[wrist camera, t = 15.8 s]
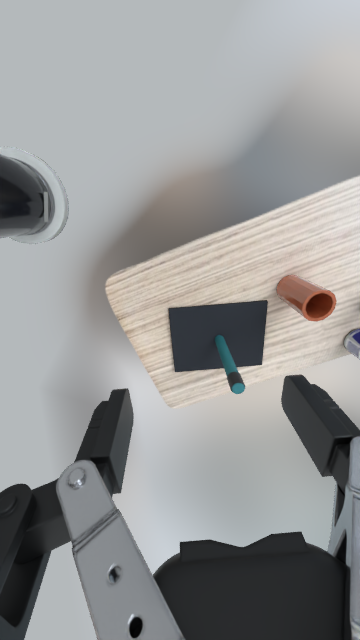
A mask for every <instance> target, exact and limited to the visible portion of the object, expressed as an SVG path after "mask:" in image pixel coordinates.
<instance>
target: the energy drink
mask: <svg viewBox="0 0 360 640" xmlns="http://www.w3.org/2000/svg"><path fill="white" fill-rule="evenodd" d="M344 346H345V348H346V349H347V350H348V351H349V352H351V353H352V354H353V355H354V356H356V357H357V358H358V359H360V329H356V330H354V331H352V332H350V333H349V334H348V335H347V336H346V338H345V341H344Z"/></svg>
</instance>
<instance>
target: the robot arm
mask: <svg viewBox="0 0 360 640" xmlns="http://www.w3.org/2000/svg"><path fill="white" fill-rule="evenodd" d="M54 213H55V201H54V196H53V193H52V191H51V188H50V186H49V184H48V183H47V181H46V180H45V178H44V177H43V176H42V175H41V174H40V173H39V172H38V171H37V170H36V169H35V168H34V167H32V166H31V165H29V164H27V163H25V162H23V161H21V160H18V159H15V158H11V157H7V156H4V155H1V154H0V238H5V237H13V236H21V235H34V234H38V233H40V232H42V231H44V230H45V229H46V228H48V226H49V225H50V224H51V222H52V220H53V217H54ZM281 400H282V407H283V410H284V412H285V414H286V415H287V417H288V419H289V420H290V422H291V424H292V426H293V427H294V429H295V431H296V432H297V434H298V436H299V437H300V439H301V441H302V443H303V445H304V446H305V448H306V449H307V451H308V453H309V455H310V456H311V458H312V460H313V461H314V463H315V465H316V467H317V469H318V470H319V472H320V474H321V475H322V477H325V476H333V477H334V479H335V480H336V485H335V495H334V505H333V506H334V507H333V518H332V530H331V536H330V541H329V545H328V551H324V550H323V549H321V548H319V547H317V546H314V545H311V544H309V543H306V542H305V539H304V537H303V535H302V532H291V533H279V534H271V535H269V536H267V537H265V538H263V539H260V540H258V541H257V542H254V543H252V544H250V545H248V546H246V547H237V546H233V545H229V544H225V543H221V542H217V541H213V540H200V541H188V542H180V553H178V554H176V555H174V556H173V557H171V558H170V559H168V560H167V561H166V562H164V563H163V564H162V565H161V566H160V567H159V568H158V570H157V571H156V572H155V573H154V574H153V575H152V573H151V572H150V569H149V568H148V566H147V564H146V562H145V560H144V558H143V556H142V554H141V552H140V550H139V548H138V546H137V544H136V542H135V540H134V538H133V536H132V534H131V532H130V530H129V528H128V526H127V524H126V522H125V520H124V518H123V516H122V514H121V512H120V511H119V509H117V508H116V506H115V504H114V502H113V500H112V495H113V494H116V493H121V489H122V483H123V477H124V472H125V465H126V460H127V455H128V448H129V443H130V438H131V432H132V426H133V408H132V404H131V400H130V394H129V390H128V389H117V390H113V391H112V392H111V395H110V398H109V401H102V402H101V403H100V404H99V405H98V406H97V408H96V409H95V410H94V413H93V415H92V418H91V421H90V423H89V426H88V429H87V431H86V434H85V436H84V439H83V442H82V444H81V447H80V449H79V452H78V454H77V457H76V460H75V461H74V463H73V464H71V465H70V466H68V468H66V469H65V470H64V471H63V473H62V474H61V476H60V477H59V478H58V479H57V480H55V481H53V482H50V483H48V484H45V485H43V486H40V487H38V488H36V489H33V490H31V489H30V488H29V486H28V485H26V484H16V485H13V486H10V487H9V488H7V489H5V490H4V491H2V492H1V493H0V640H24V638H25V635H26V631H27V628H28V625H29V622H30V618H31V615H32V612H33V609H34V605H35V602H36V599H37V596H38V592H39V589H40V586H41V583H42V579H43V576H44V572H45V569H46V566H47V563H48V560H49V557H50V554H51V550H53V549H55V548H57V547H59V546H61V545H63V544H65V543H68V542H70V541H71V542H72V545H73V548H72V552H73V557H74V560H75V564H76V567H77V571H78V574H79V577H80V581H81V584H82V588H83V591H84V594H85V598H86V601H87V605H88V608H89V612H90V615H91V618H92V622H93V625H94V629H95V632H96V635H97V639H98V640H360V430H359V429H358V428H357V427H356V425H355V424H354V423H353V422H352V421H351V420H350V419H349V417H348V416H347V415H346V414H345V413H344V412H343V411H342V410H341V409H340V408H339V406H338V405H337V404H336V403H335V402H334V401H333V399H332V398H331V397H330V396H329V395H328V394H327V392H326V391H324V390H323V389H321V388H320V387H318V386H317V385H315V384H310V383H309V382H308V381H307V379H306V378H305V377H304V376H303V375H290V376H286V377H285V379H284V385H283V392H282V398H281Z"/></svg>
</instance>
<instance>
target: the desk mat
mask: <svg viewBox="0 0 360 640" xmlns="http://www.w3.org/2000/svg"><path fill="white" fill-rule="evenodd" d="M267 303H268V301H267V300H266V301H253V302H241V303H229V304H217V305H204V306H192V307H180V308H169V319H170V328H171V338H172V348H173V357H174V367H175V372H182V371H194V370H206V369H219V368H224V366H223V363H222V360H221V357H220V354H219V351H218V348H217V346H216V343H215V337H216V336H217V335H222V336H223V337H224V339H225V342H226V344H227V347H228V349H229V351H230V354H231V356H232V358H233V361H234V363H235V365H236V367H243V366H256V365H262V358H263V347H264V336H265V325H266V314H267Z"/></svg>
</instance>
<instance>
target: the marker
mask: <svg viewBox="0 0 360 640" xmlns="http://www.w3.org/2000/svg"><path fill="white" fill-rule="evenodd" d="M215 343H216V346H217V348H218V351H219V354H220V357H221V360H222V363H223V366H224V369H225V372H226V375H227V380H228V383H229V386H230V388H231V391H232V392H234V393H235V394H240V393H242V392H243V391H244V389H245V385H244V382H243V380H242V378H241V375H240V374H239V372H238V370H237V368H236V365H235V363H234V361H233V358H232V356H231V354H230V351H229V349H228V347H227V344H226V342H225V339H224V337H223V336H222V335H217V336H216V337H215Z"/></svg>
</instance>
